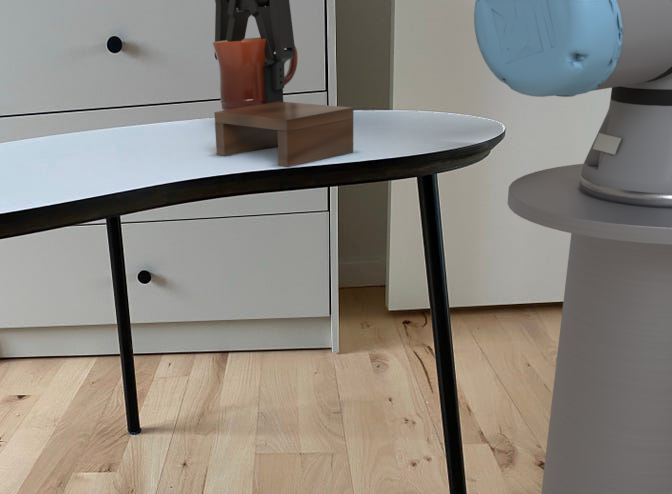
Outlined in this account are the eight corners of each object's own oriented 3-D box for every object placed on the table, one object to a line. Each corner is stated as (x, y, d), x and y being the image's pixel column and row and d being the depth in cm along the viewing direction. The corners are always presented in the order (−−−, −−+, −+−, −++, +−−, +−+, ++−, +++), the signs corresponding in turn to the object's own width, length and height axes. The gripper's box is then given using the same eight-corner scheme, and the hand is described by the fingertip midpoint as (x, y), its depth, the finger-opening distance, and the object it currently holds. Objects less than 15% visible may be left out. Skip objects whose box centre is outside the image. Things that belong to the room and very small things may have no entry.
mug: (227, 122, 114) (221, 42, 110) (210, 117, 122) (205, 42, 118) (309, 113, 116) (307, 34, 112) (288, 108, 124) (285, 34, 120)
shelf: (353, 152, 96) (353, 107, 94) (287, 166, 91) (286, 119, 89) (279, 142, 106) (278, 101, 104) (216, 154, 101) (214, 112, 99)
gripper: (181, -57, 116) (193, 112, 125) (276, -75, 100) (282, 120, 109) (223, -59, 120) (232, 105, 129) (322, -76, 104) (324, 112, 113)
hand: (255, 112), depth 119 cm, fingers closed on mug, 7 cm apart
